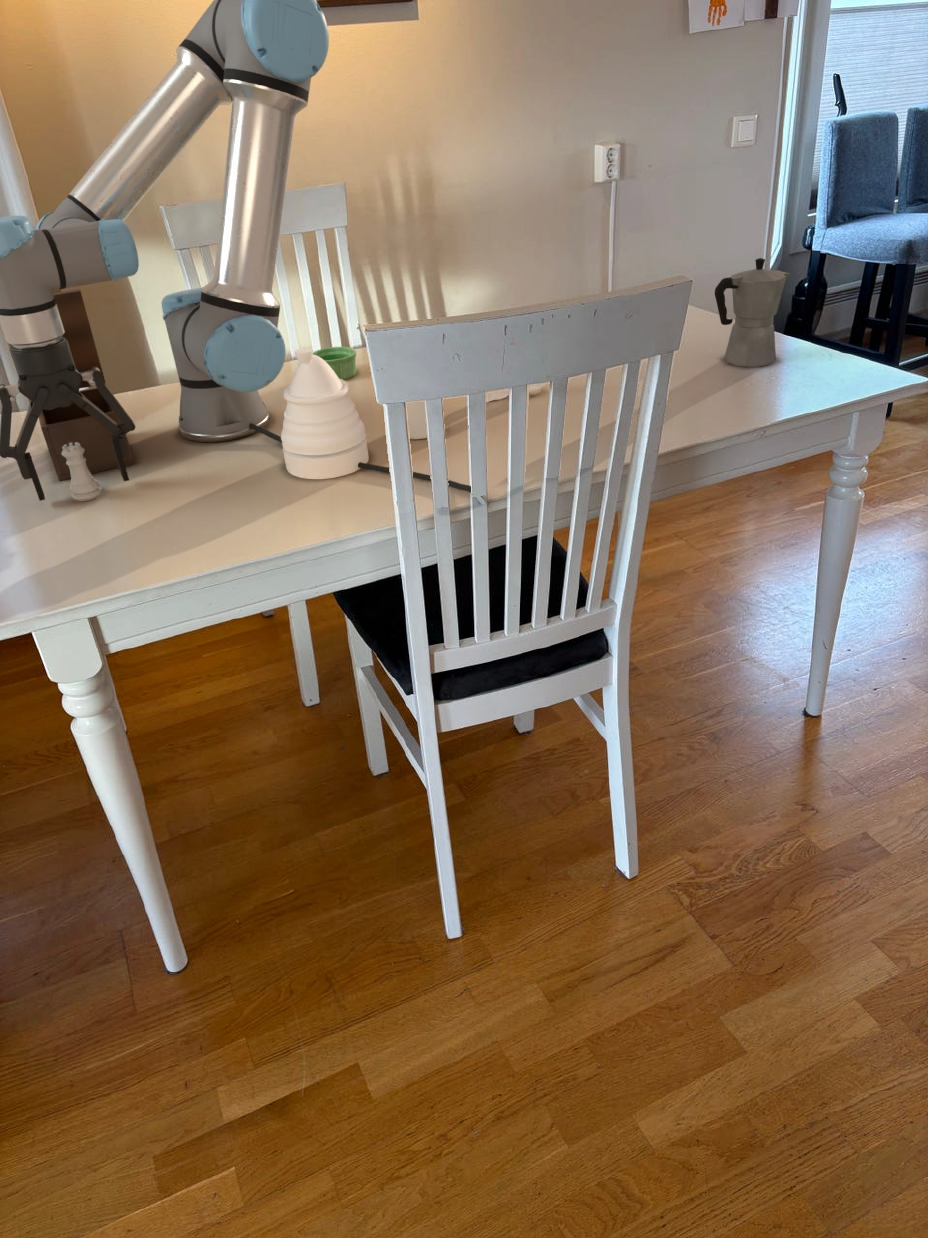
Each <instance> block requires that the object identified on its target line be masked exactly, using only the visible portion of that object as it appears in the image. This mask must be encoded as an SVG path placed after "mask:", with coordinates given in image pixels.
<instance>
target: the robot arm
mask: <svg viewBox="0 0 928 1238" xmlns="http://www.w3.org/2000/svg"><path fill="white" fill-rule="evenodd" d="M329 36H330V35H329V28H328V23H327V20H326V16H325V13H324V12H323V10H322V9H321V7H320V5H319V2H318V1H317V0H212V2H211V3H210V4H209V6H208V7H207V8H206V10H205V11H204V12H203V13H202V14H201V16H200V18H199V19H198V20H197V22H196V23H195V24H194V26H193V27H192V28H191V30H190V31H189V33H187V35H186V37H185V38H184V39H183V40H182V41H181V43H180V44H179V45H178V46H177V48H176V51H175V52H176V62H175V63H174V64H173V66H172V67H171V68H170V69H169V71H168V72H167V73H166V74H165V76H163V78H162V79H161V80H160V82H159V83H158V84H157V85H156V87H155V88H154V89H152V91H151V93H150V94H149V95H148V96H147V97H146V99H145V100H144V102H143V103H142V104H141V105H140V106H139V107H138V109H137V110H136V111H135V112H134V113H133V115H132V116H131V118H129V120H128V121H127V122H126V124H124V126H123V127H122V128H121V129H120V131H119V132H118V133H117V135H116V136H115V137H114V138H113V139H112V140H111V142H110V143H109V145H107V146H106V148H105V149H104V150H103V151H102V153H101V154H100V155H99V157H98V158H96V160H95V162H94V163H93V164H92V165H91V166H90V168H89V169H88V170H87V171H86V172H85V174H84V175H83V176H82V177H81V178H80V179H79V181H78V182H77V183H76V185H75V186H74V187H73V188H72V190H71V191H70V192H69V194H68V195H67V196H66V197H65V198H64V199H63V201H62V202H61V203H60V204H59V205H58V206H57V208H56V209H55V210H53V211H50V212H48V213H46V214H44V215H43V216H42V217H40V219H39V220H38V222H37V224H36V227H35V226H34V225H33V223H32V220H31V219H30V218H29V217H28V216H26V215H7V216H0V327H1V330H2V333H3V336H4V338H5V341H6V343H7V344H9V345H10V348H9V350H8V351H9V353H10V356H11V359H12V362H13V365H14V369H15V371H16V373H17V377H18V381H17V383H15V384H9V385H5V384H4V383H0V403H1V407H0V458H2V459H7V458H11V459H14V460H15V461H16V464H17V467H18V469H19V472H20V474H21V477H22V478H23V479H24V480H30V479H31V480H32V482H33V486H34V489H35V492H36V495H37V497H38V500H39V501H44V500H45V501H46V497H45V493H44V489H43V487H42V484H41V481H40V479H39V475H38V473H37V470H36V467H35V464H34V461H33V458H32V456H31V453H30V451H29V452H27V449H28V446H29V444H30V442H31V438H32V436H33V433H34V430H35V427H36V425H37V423H38V421H39V418H38V417H39V416H40V413H41V411H42V409H47V411H48V410H53V409H55V408H57V407H68V406H70V405H71V404H72V403H73V402H74V403H75V404H76V405H77V406H79V407H80V408H82V409H83V410H84V411H86V412H87V413H88V414H89V415H91V416H92V417H93V418H94V419H96V420H97V421H98V422H99V423H101V424H102V425H103V426H104V427H105V428H107V429H108V430H109V431H110V432H112V433H113V434H112V435H110V437H111V441H112V444H113V448H114V451H115V454H116V458H117V461H118V465H119V467H118V468H119V472H120V474H121V477H122V480H123V482H127V481H130V478H129V474H128V471H127V468H126V467H127V466H125V464H124V460H123V458H124V457H129V454H130V453H129V449H128V446H127V442H126V439H125V435H126V436H127V434H128V433H130V432H134V431H135V430H136V425H135V423H134V421H133V419H132V418H131V417H130V415H129V414H128V412H127V411H126V410H125V408H124V407H123V406H122V405H121V403H120V402H119V401H118V399H117V398H116V396H115V395H114V393H112V391H111V389H109V387H108V386H107V384H105V383H104V380H103V377H102V374H101V372H100V370H99V368H98V367H92V369H91V370H88V371H83V372H79V371H78V370H77V369H76V367H75V364H74V361H73V358H72V354H71V351H70V348H69V344H68V341H67V339H65V338H64V337H62V335H63V334H64V332H65V331H64V328H63V325H62V321H61V318H60V315H59V311H58V308H57V305H56V302H55V299H54V295H53V290H58V289H59V290H60V289H61V290H65V289H67V288H73V287H74V288H75V287H80V286H86V285H91V284H97V283H98V284H99V283H105V282H109V281H110V282H111V281H113V282H117V281H118V280H120V279H124V278H128V277H132V276H135V275H136V274H137V273H138V271H139V267H140V266H139V265H140V262H139V261H140V260H139V255H138V250H137V246H136V243H135V239H134V237H133V234H132V232H131V230H130V228H129V226H128V225H127V224H126V222H125V220H126V219H128V217H129V216H130V214H131V213H132V212H133V211H134V209H135V208H136V207H137V206H138V205H139V204H140V202H141V201H142V200H143V199H144V197H145V196H146V195H147V193H149V191H150V190H151V189H152V188H153V186H154V185H155V184H156V183H157V182H158V181H159V179H160V178H161V177H162V175H164V173H165V172H166V170H167V169H168V168H170V166H171V165H172V163H173V162H174V161H175V160H176V158H177V157H178V156H179V155H180V153H181V152H182V151H183V150H184V149H185V147H186V146H187V145H188V143H190V141H191V140H192V139H193V138H194V136H195V135H196V134H197V133H198V132H199V131H200V129H201V128H202V127H203V125H204V124H205V123H206V122H207V121H208V119H209V118H210V117H211V116H212V115H213V113H214V112H215V111H216V110H217V109H218V108H219V106H230V105H231V112H230V113H231V114H230V123H229V131H228V139H227V140H228V141H227V151H226V160H225V169H224V177H223V186H222V187H223V188H222V195H221V196H222V198H221V204H220V205H221V206H220V216H219V225H218V232H217V233H218V234H217V243H216V251H215V261H214V270H213V278H212V280H210V282H208V283H207V284H205V285H204V286H202V287H197V288H190V289H186V290H181V291H177V292H172V293H169V294H167V295H165V296H164V297H162V300H161V311H162V320H163V321H164V324H165V328H166V332H167V335H168V341H169V344H170V349H171V352H172V356H173V360H174V364H175V368H176V373H177V376H178V381H179V385H180V399H179V415H178V426H179V431H180V435H181V437H183V438H185V439H187V440H189V441H194V442H202V443H215V442H216V443H217V442H226V441H231V440H236V439H241V438H244V437H247V436H251V435H253V434H255V433H260V434H262V435H264V436H266V437H268V438H271V439H272V440H274V441H276V442H278V443H281V444H282V440H281V435H278V434H276V433H274V432H272V431H270V430H268V429H265V427H267V425H268V424H269V423H270V415H269V411H268V407H267V405H266V404H265V402H264V401H263V399H262V397H261V395H260V393H259V391H260V390H262V389H264V388H266V387H267V386H268V385H271V383H273V382H274V381H275V379H276V378H277V377H278V376H279V374H280V373H281V371H282V369H283V367H284V364H285V360H286V354H287V353H286V352H287V351H286V350H287V349H286V343H285V339H284V337H283V336H282V333H281V331H280V330H279V328H278V327H279V318H280V311H281V304H280V301H278V298H277V297H276V296H275V295H274V292H273V286H274V285H273V284H274V278H275V270H276V261H277V255H278V254H277V253H278V248H279V241H280V240H279V239H280V230H281V224H282V216H283V209H284V200H285V193H286V186H287V178H288V170H289V161H290V154H291V148H292V141H293V131H294V125H295V117H296V116H297V114H299V113H300V112H301V111H303V110H304V109H305V108H307V106H308V104H309V97H310V96H309V95H310V90H311V81H312V78H313V77H314V76H316V75H317V74H318V72H319V71H320V70H321V69H322V67H323V65H324V63H325V62H326V60H327V56H328V54H329V53H328V52H329V46H330V37H329ZM83 380H85V381H87V382H88V383H89V384H90V385H91V387H97V389H98V391H99V392H100V394H101V395H102V396H103V397H104V399H105V400H106V401H107V403H108V404H109V405H110V407H111V408H112V409H113V411H114V412H115V413H116V415H117V416H118V417H119V419H120V420H121V421H122V423H121V424H119V425H118V424H117V423H116V422H115V421H113V420H112V419H111V418H110V417H109V416H107V415H106V414H105V413H104V412H102V411H101V410H100V409H99V408H98V407H96V406H95V405H94V404H93V403H92V402H90V401H89V400H88V399H87V398H86V397H85V396H84V395H82V394H81V393H80V392H79V390H81V388H80V387H81V384H82V382H83ZM18 394H21V395H23V396H24V397H25V398H27V399H28V400H29V404H28V408H27V411H26V414H25V417H24V419H23V423H22V425H21V427H20V428H21V429H20V431H19V433H18V437H17V439H16V442H15V444H14V446H11V430H12V415H13V405H12V403H14V402H16V400H17V396H18ZM358 467H359V468H361V469H364V470H368V471H369V470H370V471H374V472H380V473H381V472H382V473H386V474H390V473H389V468H390V467H388V466H383V465H376V464H371V463H361V462H360V463H358ZM412 472H413V477H412V478H413V479H419V480H423V481H428V482H432V481H431V479H430V474H426V473H421V472H416V471H412ZM448 480H449V481H448V483H449V486H448V487H449V488H453V489H456V490H460V491H465V492H468V493H470V494H471V486H472V485H469V484H463V483H460V482H456V481H453V480H451V479H448Z"/></svg>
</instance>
